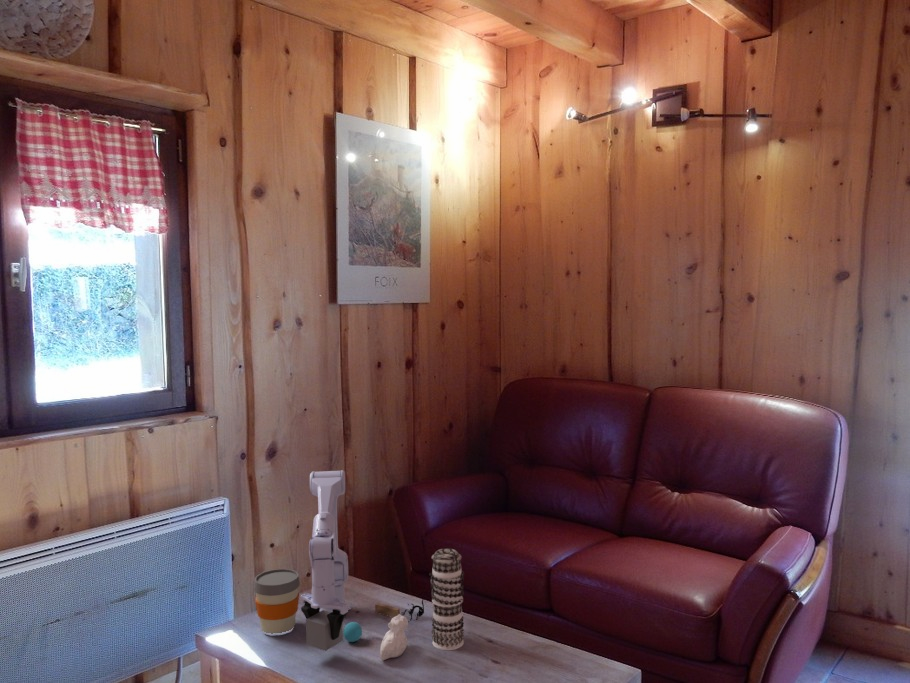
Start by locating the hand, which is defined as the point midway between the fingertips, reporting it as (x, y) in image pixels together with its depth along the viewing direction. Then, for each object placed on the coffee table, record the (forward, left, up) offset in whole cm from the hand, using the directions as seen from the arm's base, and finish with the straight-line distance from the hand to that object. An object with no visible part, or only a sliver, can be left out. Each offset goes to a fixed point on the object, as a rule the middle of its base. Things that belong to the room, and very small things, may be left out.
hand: (324, 634), depth 181 cm
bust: (+14, +11, -7) cm, 19 cm away
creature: (+6, +30, -7) cm, 32 cm away
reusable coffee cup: (-23, +6, -7) cm, 25 cm away
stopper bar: (-2, +29, -6) cm, 29 cm away
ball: (0, +11, -4) cm, 12 cm away
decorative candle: (+23, +23, -7) cm, 33 cm away
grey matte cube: (0, 0, -2) cm, 2 cm away
